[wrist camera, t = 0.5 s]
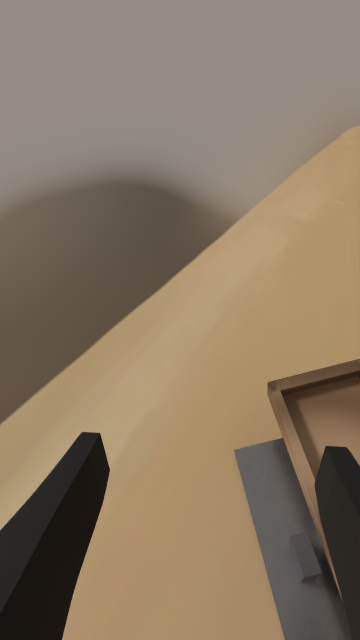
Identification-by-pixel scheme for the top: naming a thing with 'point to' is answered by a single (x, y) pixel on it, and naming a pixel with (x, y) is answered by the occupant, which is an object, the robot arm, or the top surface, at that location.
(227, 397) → the top surface
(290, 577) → the pivot stand
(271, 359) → the top surface
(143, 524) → the top surface
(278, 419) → the brown wooden tray
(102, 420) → the top surface
